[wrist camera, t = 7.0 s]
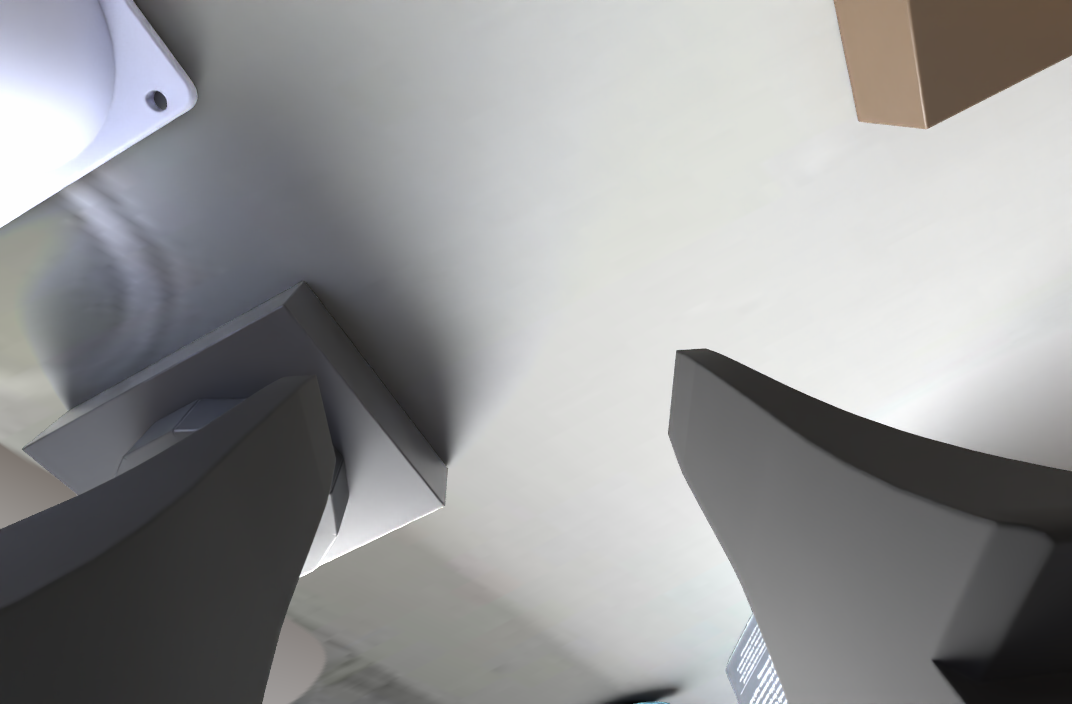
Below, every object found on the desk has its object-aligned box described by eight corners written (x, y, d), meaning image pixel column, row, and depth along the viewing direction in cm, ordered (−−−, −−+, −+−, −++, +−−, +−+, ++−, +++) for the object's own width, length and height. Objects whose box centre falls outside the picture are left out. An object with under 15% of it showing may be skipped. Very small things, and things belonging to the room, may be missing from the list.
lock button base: (243, 567, 23) (200, 656, 20) (66, 411, 19) (-27, 487, 16) (448, 468, 22) (443, 543, 18) (304, 279, 18) (262, 329, 14)
